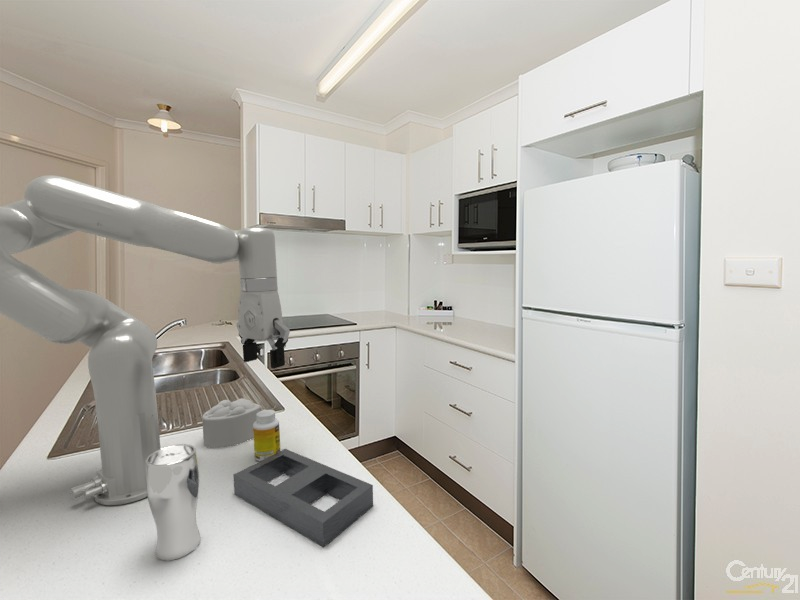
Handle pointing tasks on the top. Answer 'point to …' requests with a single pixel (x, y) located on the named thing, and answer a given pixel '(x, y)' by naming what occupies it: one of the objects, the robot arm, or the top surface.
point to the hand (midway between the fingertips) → (263, 363)
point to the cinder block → (304, 494)
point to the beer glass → (174, 499)
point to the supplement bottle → (266, 435)
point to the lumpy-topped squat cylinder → (229, 423)
